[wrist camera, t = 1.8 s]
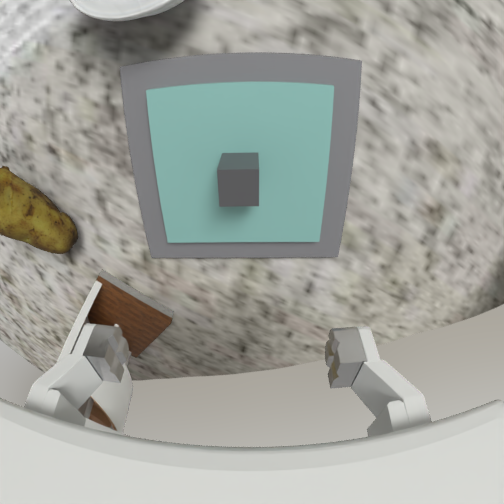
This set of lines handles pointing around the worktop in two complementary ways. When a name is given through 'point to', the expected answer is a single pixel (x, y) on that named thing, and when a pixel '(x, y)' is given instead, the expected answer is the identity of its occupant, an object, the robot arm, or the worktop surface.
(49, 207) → the potato
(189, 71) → the mat
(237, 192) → the lid
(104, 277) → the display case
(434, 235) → the worktop surface
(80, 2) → the ramekin
